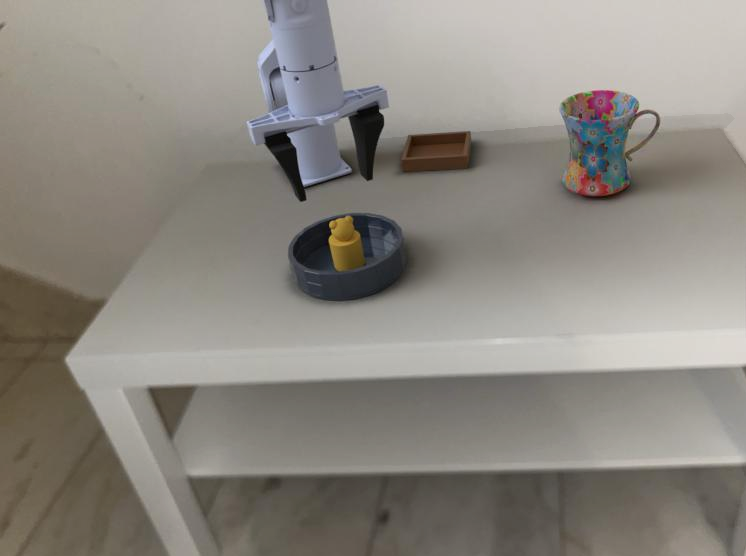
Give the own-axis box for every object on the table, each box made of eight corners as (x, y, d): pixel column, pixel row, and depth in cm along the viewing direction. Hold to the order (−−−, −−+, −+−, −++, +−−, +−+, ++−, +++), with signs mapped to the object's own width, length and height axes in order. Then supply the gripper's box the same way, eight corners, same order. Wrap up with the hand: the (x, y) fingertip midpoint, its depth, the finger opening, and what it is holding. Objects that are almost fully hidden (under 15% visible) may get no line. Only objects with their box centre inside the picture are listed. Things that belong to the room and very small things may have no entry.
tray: (402, 172, 107) (400, 159, 106) (409, 146, 114) (408, 134, 113) (468, 168, 106) (467, 155, 105) (471, 142, 112) (470, 130, 111)
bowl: (281, 259, 93) (274, 234, 91) (381, 226, 96) (376, 201, 94) (315, 314, 83) (308, 288, 81) (425, 275, 86) (421, 249, 84)
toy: (330, 261, 90) (320, 217, 86) (358, 252, 91) (349, 207, 87) (340, 276, 87) (330, 230, 84) (369, 266, 88) (361, 220, 85)
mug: (564, 206, 95) (564, 124, 88) (555, 172, 102) (554, 94, 95) (663, 196, 94) (671, 113, 87) (647, 163, 101) (653, 83, 94)
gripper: (247, 92, 70) (281, 222, 78) (392, 53, 74) (409, 181, 82) (229, 72, 75) (262, 195, 84) (365, 36, 79) (384, 158, 87)
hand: (334, 187), depth 83 cm, fingers open, 7 cm apart
